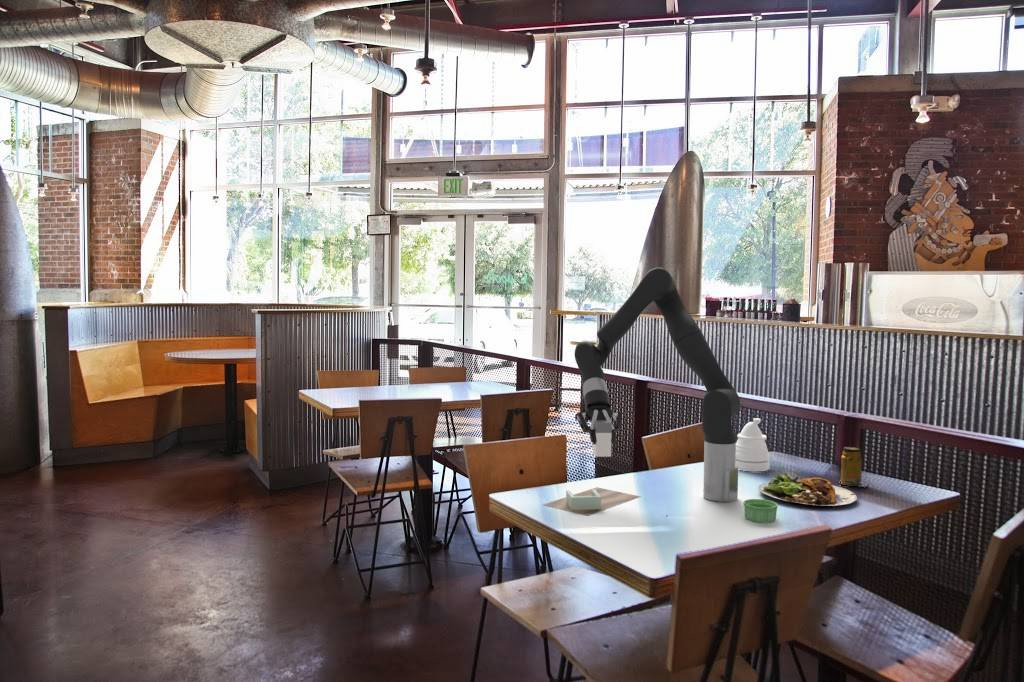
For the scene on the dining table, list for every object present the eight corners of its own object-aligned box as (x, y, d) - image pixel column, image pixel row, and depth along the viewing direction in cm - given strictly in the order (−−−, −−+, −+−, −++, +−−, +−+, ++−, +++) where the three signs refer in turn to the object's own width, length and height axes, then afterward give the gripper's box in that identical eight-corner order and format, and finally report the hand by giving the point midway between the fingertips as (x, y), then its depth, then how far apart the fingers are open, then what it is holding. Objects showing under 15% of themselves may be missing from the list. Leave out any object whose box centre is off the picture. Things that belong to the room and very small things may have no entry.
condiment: (840, 481, 247) (841, 445, 247) (868, 484, 243) (869, 447, 243) (838, 485, 241) (839, 449, 240) (867, 489, 237) (869, 451, 236)
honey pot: (775, 468, 266) (776, 418, 265) (760, 474, 256) (761, 422, 255) (741, 462, 274) (742, 414, 273) (725, 468, 265) (726, 418, 264)
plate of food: (739, 490, 235) (740, 471, 235) (809, 482, 245) (810, 464, 244) (801, 517, 209) (802, 496, 208) (878, 507, 218) (879, 487, 218)
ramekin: (775, 515, 208) (775, 499, 207) (779, 524, 199) (779, 508, 199) (741, 513, 210) (742, 497, 209) (744, 522, 201) (744, 506, 201)
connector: (593, 453, 221) (593, 420, 221) (607, 453, 222) (608, 420, 221) (595, 456, 217) (596, 422, 216) (611, 456, 217) (611, 422, 217)
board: (640, 500, 222) (640, 496, 222) (587, 520, 202) (587, 515, 202) (596, 491, 232) (596, 487, 232) (542, 508, 212) (542, 504, 212)
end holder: (566, 502, 215) (566, 490, 215) (595, 501, 216) (595, 489, 216) (571, 509, 207) (571, 497, 207) (601, 509, 208) (601, 496, 208)
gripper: (574, 388, 225) (581, 435, 214) (621, 388, 226) (630, 435, 215) (571, 403, 230) (577, 450, 219) (616, 403, 232) (625, 449, 220)
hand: (603, 442), depth 217 cm, fingers closed on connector, 4 cm apart
